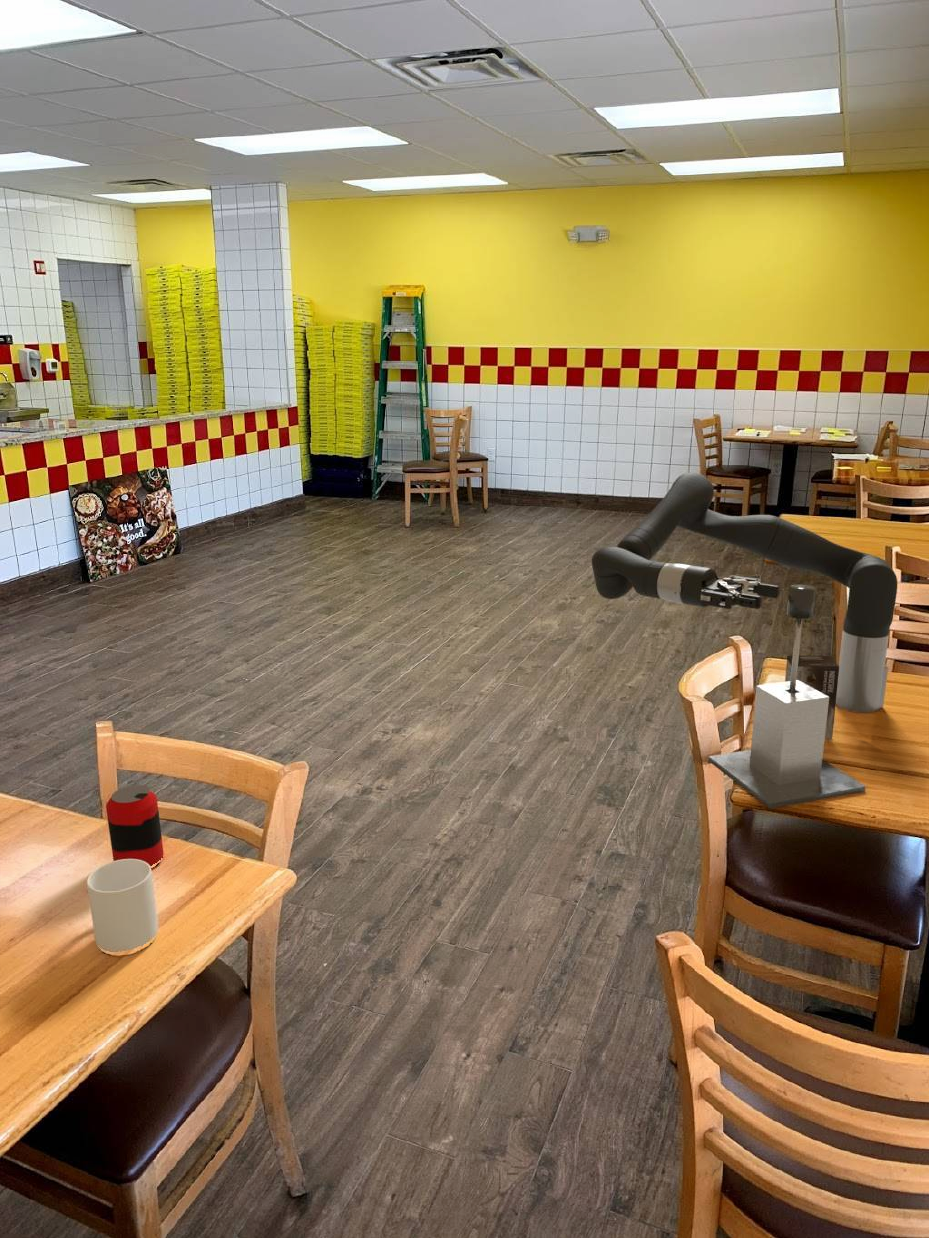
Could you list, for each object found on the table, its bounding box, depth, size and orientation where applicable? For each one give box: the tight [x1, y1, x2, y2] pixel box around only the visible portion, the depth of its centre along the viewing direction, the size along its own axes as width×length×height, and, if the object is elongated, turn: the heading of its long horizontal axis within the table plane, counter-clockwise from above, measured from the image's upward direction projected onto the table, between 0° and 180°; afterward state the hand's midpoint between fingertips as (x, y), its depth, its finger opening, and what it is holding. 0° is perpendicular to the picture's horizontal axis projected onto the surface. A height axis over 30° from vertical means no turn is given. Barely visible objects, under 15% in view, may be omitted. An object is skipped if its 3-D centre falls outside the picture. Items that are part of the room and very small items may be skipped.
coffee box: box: [784, 655, 839, 740], centre depth 190 cm, size 9×6×16 cm
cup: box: [86, 859, 159, 952], centre depth 129 cm, size 8×12×10 cm
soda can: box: [105, 785, 165, 866], centre depth 146 cm, size 8×8×12 cm
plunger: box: [786, 584, 817, 694], centre depth 167 cm, size 6×6×22 cm
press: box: [707, 680, 867, 809], centre depth 172 cm, size 20×20×17 cm
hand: (770, 597), depth 167 cm, fingers open, 8 cm apart
